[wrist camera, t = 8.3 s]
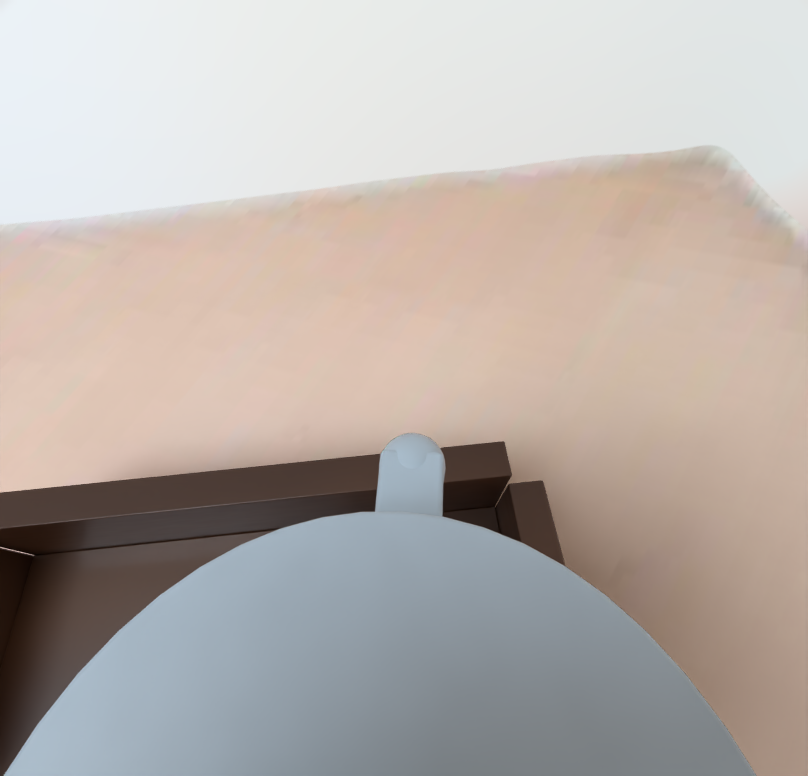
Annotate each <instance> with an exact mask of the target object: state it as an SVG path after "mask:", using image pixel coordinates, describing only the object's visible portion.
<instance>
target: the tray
mask: <svg viewBox="0 0 808 776" xmlns="http://www.w3.org/2000/svg"><path fill="white" fill-rule="evenodd" d="M440 449H441V451H442V453H443V455H444V459H445V467H446V469H445V476H444V483H443V515H442V517H446V518H450V519H454V520H457V521H461V522H465V523H469V524H473V525H476V526H480V527H484V528H486V529H489V530H491V531H494V532H496V533H499V534H501V535H504V536H506V537H509V538H511V539H514V540H516V541H519V542H521V543H524V544H526V545H528V546H529V547H531V548H533V549H535V550H537V551H538V552H540V553H542V554H544V555H546V556H547V557H549V558H551V559H553V560H555V561H557V562H558V563H560V564H562V565H564V566H565V563H564V559H563V556H562V552H561V548H560V544H559V540H558V536H557V533H556V529H555V525H554V521H553V517H552V513H551V510H550V506H549V502H548V498H547V494H546V490H545V487H544V483H543V481H532V482H522V483H513V484H509V485H508V486H507V488H506V490H505V491H504V493H503V495H502V497H501V498H500V500H499V502H498V504H497V505H496V503H497V501H498V499H499V497H500V496H501V494H502V492H503V490H504V488H505V487H506V485H507V483H508V481H509V479H510V478H511V476H512V473H511V469H510V464H509V460H508V456H507V451H506V447H505V442H504V441H503V442H493V443H483V444H473V445H463V446H454V447H444V448H440ZM380 455H381V454H375V455H365V456H356V457H346V458H336V459H326V460H316V461H307V462H297V463H287V464H277V465H267V466H258V467H248V468H238V469H228V470H218V471H209V472H199V473H189V474H179V475H169V476H159V477H150V478H140V479H130V480H120V481H110V482H101V483H91V484H81V485H71V486H61V487H52V488H42V489H32V490H22V491H12V492H3V493H0V547H3V548H8V549H12V550H16V551H20V552H24V553H29V554H33V555H35V556H32V555H28V554H24V553H20V552H15V551H11V550H7V549H3V548H0V776H4V774H5V773H6V771H7V770H8V768H9V767H10V765H11V764H12V762H13V761H14V759H15V758H16V756H17V755H18V753H19V752H20V750H21V749H22V747H23V746H24V744H25V743H26V741H27V740H28V738H29V737H30V735H31V734H32V732H33V731H34V729H35V727H36V726H37V725H38V723H39V722H40V721H41V720H42V718H43V717H44V716H45V714H46V713H47V712H48V711H49V709H50V708H51V707H52V706H53V704H54V703H55V702H56V701H57V699H58V698H59V697H60V695H61V694H62V693H63V692H64V690H65V689H66V688H67V687H68V685H69V684H70V683H71V682H72V680H73V679H74V678H75V677H76V675H77V674H78V673H79V672H80V671H81V670H82V669H83V668H84V667H85V666H86V665H87V664H88V662H89V661H90V660H91V659H92V658H93V657H94V656H95V655H96V654H97V653H98V652H99V651H100V650H101V649H102V648H103V647H104V646H105V645H106V644H107V642H108V641H109V640H110V639H111V638H112V637H113V636H114V635H115V634H116V633H117V632H118V631H119V630H120V629H121V628H123V627H124V626H125V625H126V624H127V623H128V622H129V621H131V620H132V619H133V618H134V617H135V616H136V615H138V614H139V613H140V612H141V611H142V610H143V609H144V608H146V607H147V606H148V605H149V604H150V603H151V602H153V601H154V600H155V599H156V598H157V597H158V596H160V595H161V594H162V593H164V592H165V591H167V590H168V589H169V588H171V587H172V586H174V585H175V584H177V583H178V582H179V581H181V580H182V579H184V578H185V577H187V576H188V575H189V574H191V573H192V572H194V571H195V570H197V569H198V568H199V567H201V566H203V565H205V564H206V563H208V562H210V561H212V560H214V559H216V558H217V557H219V556H221V555H223V554H225V553H226V552H228V551H230V550H232V549H234V548H236V547H237V546H239V545H241V544H244V543H246V542H249V541H251V540H253V539H256V538H258V537H261V536H263V535H266V534H268V533H271V532H273V531H276V530H278V529H281V528H284V527H288V526H291V525H295V524H299V523H302V522H306V521H310V520H314V519H317V518H321V517H328V516H335V515H342V514H350V513H357V512H375V506H376V496H377V486H378V475H379V462H380ZM495 505H496V507H494V506H495Z"/></svg>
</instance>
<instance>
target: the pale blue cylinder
mask: <svg viewBox="0 0 808 776" xmlns="http://www.w3.org/2000/svg"><path fill="white" fill-rule="evenodd" d="M445 469H446V467H445V459H444V455H443V453H442V451H441V449H440V448H439V446H438V445H437V444H436V443H435V442H434V441H433V440H432V439H430V438H429V437H427V436H425V435H422V434H417V433H407V434H402V435H400V436H398V437H396V438H394V439H393V440H391V441H390V442H389V443H388V444H387V446H386V447H385V448H384V450H383V451H382V453H381V455H380V462H379V475H378V486H377V496H376V506H375V512H357V513H350V514H342V515H335V516H328V517H321V518H317V519H314V520H310V521H306V522H302V523H299V524H295V525H291V526H288V527H284V528H281V529H278V530H276V531H273V532H271V533H268V534H266V535H263V536H261V537H258V538H256V539H253V540H251V541H249V542H246V543H244V544H241V545H239V546H237V547H236V548H234V549H232V550H230V551H228V552H226V553H225V554H223V555H221V556H219V557H217V558H216V559H214V560H212V561H210V562H208V563H206V564H205V565H203V566H201V567H199V568H198V569H197V570H195V571H194V572H192V573H191V574H189V575H188V576H187V577H185V578H184V579H182V580H181V581H179V582H178V583H177V584H175V585H174V586H172V587H171V588H169V589H168V590H167V591H165V592H164V593H162V594H161V595H160V596H158V597H157V598H156V599H155V600H154V601H153V602H151V603H150V604H149V605H148V606H147V607H146V608H144V609H143V610H142V611H141V612H140V613H139V614H138V615H136V616H135V617H134V618H133V619H132V620H131V621H129V622H128V623H127V624H126V625H125V626H124V627H123V628H121V629H120V630H119V631H118V632H117V633H116V634H115V635H114V636H113V637H112V638H111V639H110V640H109V641H108V642H107V644H106V645H105V646H104V647H103V648H102V649H101V650H100V651H99V652H98V653H97V654H96V655H95V656H94V657H93V658H92V659H91V660H90V661H89V662H88V664H87V665H86V666H85V667H84V668H83V669H82V670H81V671H80V672H79V673H78V674H77V675H76V677H75V678H74V679H73V680H72V682H71V683H70V684H69V685H68V687H67V688H66V689H65V690H64V692H63V693H62V694H61V695H60V697H59V698H58V699H57V701H56V702H55V703H54V704H53V706H52V707H51V708H50V709H49V711H48V712H47V713H46V714H45V716H44V717H43V718H42V720H41V721H40V722H39V723H38V725H37V726H36V727H35V729H34V731H33V732H32V734H31V735H30V737H29V738H28V740H27V741H26V743H25V744H24V746H23V747H22V749H21V750H20V752H19V753H18V755H17V756H16V758H15V759H14V761H13V762H12V764H11V765H10V767H9V768H8V770H7V771H6V773H5V774H4V776H756V774H755V773H754V771H753V769H752V768H751V766H750V765H749V763H748V761H747V760H746V758H745V757H744V755H743V753H742V752H741V750H740V749H739V747H738V745H737V744H736V742H735V741H734V739H733V737H732V736H731V734H730V733H729V731H728V729H727V728H726V727H725V725H724V724H723V723H722V721H721V720H720V719H719V717H718V716H717V715H716V713H715V712H714V711H713V709H712V708H711V707H710V706H709V704H708V703H707V702H706V700H705V699H704V698H703V696H702V695H701V694H700V692H699V691H698V690H697V688H696V687H695V686H694V684H693V683H692V682H691V680H690V679H689V678H688V676H687V675H686V674H685V673H684V672H683V671H682V670H681V669H680V667H679V666H678V665H677V664H676V663H675V662H674V661H673V660H672V659H671V658H670V657H669V655H668V654H667V653H666V652H665V651H664V650H663V649H662V648H661V647H660V646H659V645H658V643H657V642H656V641H655V640H654V639H653V638H652V637H651V636H650V635H649V634H648V633H647V632H646V631H645V630H644V629H643V628H642V627H641V626H640V625H639V624H638V623H636V622H635V621H634V620H633V619H632V618H631V617H630V616H629V615H627V614H626V613H625V612H624V611H623V610H622V609H621V608H620V607H618V606H617V605H616V604H615V603H614V602H613V601H612V600H611V599H609V598H608V597H607V596H606V595H605V594H603V593H602V592H601V591H599V590H598V589H596V588H595V587H594V586H592V585H591V584H589V583H588V582H587V581H585V580H584V579H582V578H581V577H580V576H578V575H577V574H575V573H574V572H572V571H571V570H570V569H568V568H567V567H565V566H564V565H562V564H560V563H558V562H557V561H555V560H553V559H551V558H549V557H547V556H546V555H544V554H542V553H540V552H538V551H537V550H535V549H533V548H531V547H529V546H528V545H526V544H524V543H521V542H519V541H516V540H514V539H511V538H509V537H506V536H504V535H501V534H499V533H496V532H494V531H491V530H489V529H486V528H484V527H480V526H476V525H473V524H469V523H465V522H461V521H457V520H454V519H450V518H446V517H442V515H443V483H444V476H445Z"/></svg>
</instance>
